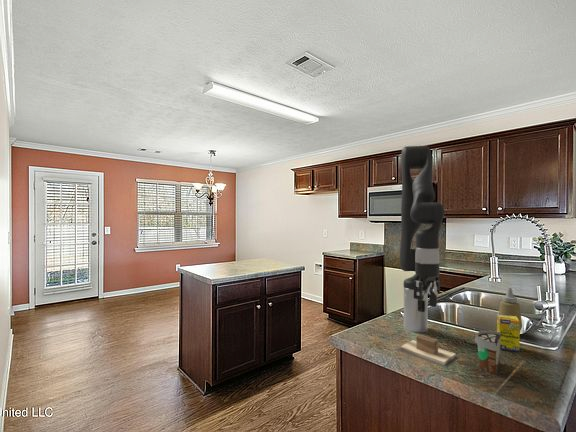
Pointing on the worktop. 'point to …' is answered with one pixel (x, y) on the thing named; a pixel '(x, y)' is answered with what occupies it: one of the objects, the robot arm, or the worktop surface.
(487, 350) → the food container
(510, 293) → the squeeze bottle
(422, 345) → the lid
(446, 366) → the mat
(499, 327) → the supplement box
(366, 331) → the worktop surface
